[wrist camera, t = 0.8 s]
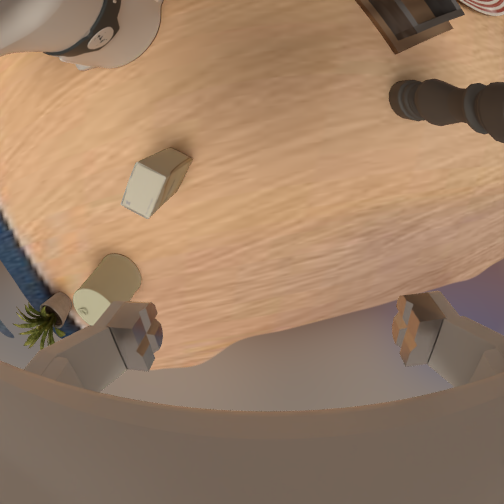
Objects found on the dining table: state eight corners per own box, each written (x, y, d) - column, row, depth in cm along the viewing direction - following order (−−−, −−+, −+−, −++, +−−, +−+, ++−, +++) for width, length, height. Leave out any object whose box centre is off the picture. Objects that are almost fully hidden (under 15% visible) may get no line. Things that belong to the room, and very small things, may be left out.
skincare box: (177, 191, 45) (149, 222, 34) (153, 179, 44) (119, 206, 33) (194, 157, 42) (167, 177, 31) (169, 144, 41) (135, 161, 30)
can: (94, 257, 52) (62, 292, 42) (129, 249, 51) (100, 287, 40) (113, 294, 56) (87, 333, 46) (148, 290, 55) (125, 331, 44)
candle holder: (402, 72, 33) (517, 66, 11) (429, 99, 34) (548, 121, 12) (381, 100, 36) (490, 114, 14) (410, 127, 37) (523, 168, 15)
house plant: (84, 282, 55) (46, 332, 41) (95, 327, 62) (66, 377, 48) (39, 270, 55) (-1, 312, 41) (52, 314, 62) (21, 356, 48)
